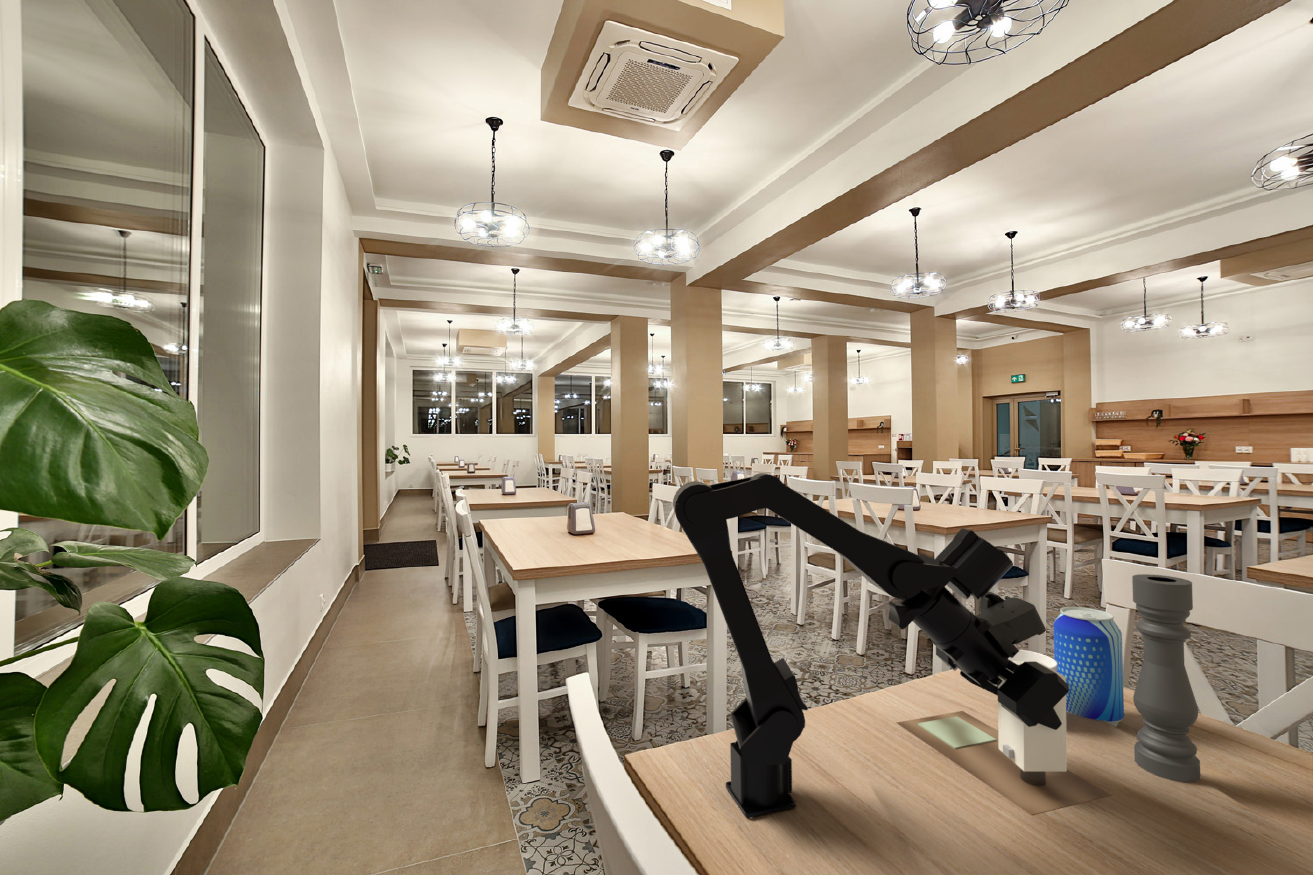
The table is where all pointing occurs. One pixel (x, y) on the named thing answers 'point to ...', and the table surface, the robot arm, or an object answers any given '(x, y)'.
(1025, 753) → the tall white prism
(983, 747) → the board
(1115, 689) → the beer can
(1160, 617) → the candle holder
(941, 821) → the table surface
